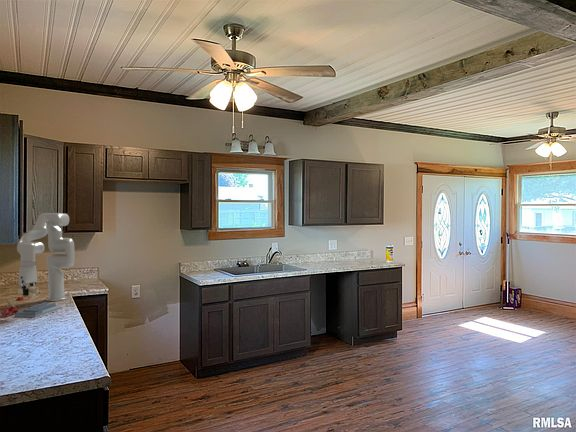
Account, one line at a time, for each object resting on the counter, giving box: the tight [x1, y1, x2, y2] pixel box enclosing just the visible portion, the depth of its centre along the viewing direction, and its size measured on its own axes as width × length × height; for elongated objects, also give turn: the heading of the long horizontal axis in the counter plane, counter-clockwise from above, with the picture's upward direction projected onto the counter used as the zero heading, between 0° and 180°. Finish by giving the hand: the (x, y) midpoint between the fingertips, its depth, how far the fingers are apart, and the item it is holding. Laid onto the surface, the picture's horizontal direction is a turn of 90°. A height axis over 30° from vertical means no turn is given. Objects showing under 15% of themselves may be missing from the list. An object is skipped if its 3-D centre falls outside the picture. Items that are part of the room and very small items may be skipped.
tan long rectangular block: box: [17, 285, 40, 297], centre depth 257 cm, size 4×10×4 cm, turn 81°
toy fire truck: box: [0, 296, 24, 318], centre depth 260 cm, size 3×14×10 cm, turn 168°
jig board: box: [14, 301, 63, 318], centre depth 266 cm, size 23×14×4 cm, turn 171°
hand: (28, 294), depth 257 cm, fingers closed on tan long rectangular block, 4 cm apart
